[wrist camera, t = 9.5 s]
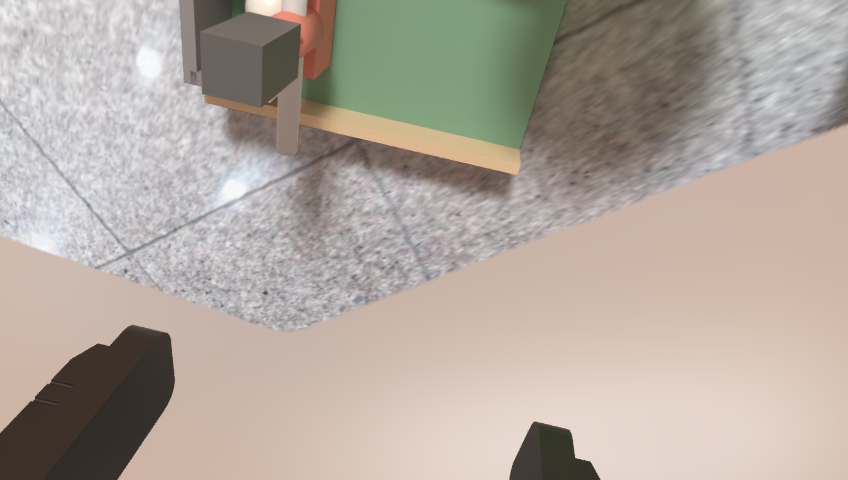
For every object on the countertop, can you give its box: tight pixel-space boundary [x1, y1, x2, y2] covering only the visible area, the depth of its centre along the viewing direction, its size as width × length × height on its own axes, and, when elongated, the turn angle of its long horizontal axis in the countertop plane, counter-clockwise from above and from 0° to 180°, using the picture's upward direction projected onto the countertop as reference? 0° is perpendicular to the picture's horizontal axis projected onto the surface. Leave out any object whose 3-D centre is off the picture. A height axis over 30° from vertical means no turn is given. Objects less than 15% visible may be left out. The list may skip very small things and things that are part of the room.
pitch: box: [179, 0, 567, 175], centre depth 39 cm, size 26×16×7 cm, turn 79°
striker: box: [200, 0, 336, 155], centre depth 34 cm, size 3×17×16 cm, turn 169°
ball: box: [245, 0, 282, 17], centre depth 39 cm, size 4×4×4 cm
